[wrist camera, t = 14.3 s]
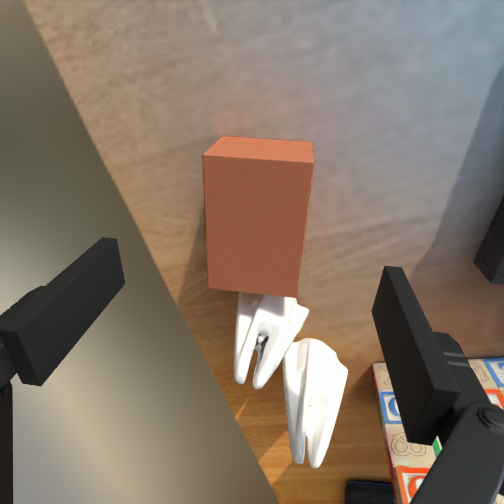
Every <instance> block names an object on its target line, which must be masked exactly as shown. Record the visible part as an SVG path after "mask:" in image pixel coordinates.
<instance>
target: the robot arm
mask: <svg viewBox="0 0 504 504" xmlns="http://www.w3.org/2000/svg"><path fill="white" fill-rule="evenodd" d="M124 284H125V279H124V274H123V269H122V264H121V259H120V254H119V249H118V244H117V239H113V238H104V237H102V238H101V239H100V240H99V241H97V242H96V243H95V244H94V245H93V246H92V247H90V248H89V249H88V250H87V251H86V252H85V253H83V254H82V255H81V256H80V257H79V258H78V259H76V260H75V261H74V262H73V263H72V264H71V265H70V266H68V267H67V268H66V269H65V270H63V271H62V272H61V273H60V274H59V275H58V276H57V277H55V278H54V279H53V280H52V281H51V282H49V283H48V284H47V285H46V286H40V287H38V288H36V289H34V290H32V291H30V292H28V293H27V294H26V295H25V296H23V297H22V298H21V299H20V300H19V301H18V302H16V303H15V304H14V305H12V306H11V307H10V309H8V310H6V311H5V312H4V313H3V314H1V315H0V504H13V409H12V408H13V407H12V406H13V402H12V385H11V382H10V380H11V379H12V378H13V376H14V375H15V374H16V373H17V374H18V376H19V378H20V380H21V382H22V383H23V384H29V385H36V386H42V385H43V383H44V382H45V381H46V380H47V379H48V377H49V376H50V375H51V374H52V372H53V371H54V370H55V369H56V368H57V366H58V365H59V364H60V363H61V361H62V360H63V359H64V358H65V357H66V355H67V354H68V353H69V352H70V350H71V349H72V348H73V347H74V346H75V344H76V343H77V342H78V340H79V339H80V338H81V337H82V335H83V334H84V333H85V332H86V331H87V330H88V328H89V327H90V326H91V325H92V323H93V322H94V321H95V320H96V319H97V317H98V316H99V315H100V314H101V312H102V311H103V310H104V309H105V308H106V306H107V305H108V304H109V303H110V301H111V300H112V299H113V298H114V296H115V295H116V294H117V293H118V291H119V290H120V289H121V288H122V287H123V285H124ZM372 315H373V319H374V322H375V326H376V330H377V333H378V337H379V341H380V344H381V348H382V352H383V355H384V359H385V363H386V366H387V370H388V374H389V377H390V381H391V385H392V388H393V392H394V395H395V399H396V403H397V406H398V410H399V414H400V417H401V421H402V425H403V428H404V432H405V436H406V439H407V442H408V443H415V444H421V445H428V446H432V444H433V443H434V441H435V439H436V437H437V436H438V438H439V441H440V444H441V447H442V449H441V451H440V453H439V454H438V456H437V458H436V459H435V461H434V463H433V464H432V466H431V468H430V469H429V471H428V473H427V474H426V476H425V478H424V480H423V481H422V483H421V485H420V486H419V488H418V490H417V491H416V493H415V495H414V496H413V498H412V500H411V501H410V503H409V504H494V502H495V499H496V497H497V494H499V495H502V496H504V410H503V409H501V408H500V407H498V406H496V405H494V404H492V403H491V401H490V399H489V398H488V396H487V394H486V392H485V390H484V389H483V387H482V385H481V383H480V381H479V380H478V378H477V376H476V374H475V372H474V371H473V369H472V368H471V367H470V363H469V362H468V360H467V358H465V354H464V353H463V351H462V349H461V347H460V345H459V344H458V343H457V342H456V341H455V340H454V339H453V338H452V337H451V336H450V335H449V334H447V333H439V332H433V331H432V329H431V327H430V325H429V323H428V321H427V319H426V317H425V315H424V313H423V311H422V308H421V306H420V304H419V302H418V300H417V298H416V296H415V294H414V292H413V290H412V288H411V286H410V284H409V281H408V279H407V277H406V275H405V273H404V271H403V269H402V268H401V267H391V266H385V267H384V270H383V274H382V277H381V280H380V284H379V287H378V291H377V294H376V298H375V301H374V305H373V308H372Z"/></svg>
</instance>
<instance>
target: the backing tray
mask: <svg viewBox="0 0 504 504" xmlns="http://www.w3.org/2000/svg"><path fill="white" fill-rule="evenodd" d="M474 264H475V265H476V266H477V267H478V268H479V270H480V271H481V272H482V273H483V274H484V276H485V277H486V278H487V279H488V280H489V282H490V283H495V284H504V197H503V199H502V201H501V203H500V206H499V208H498V210H497V212H496V214H495V217H494V219H493V221H492V223H491V225H490V228H489V230H488V232H487V234H486V236H485V239H484V241H483V243H482V245H481V247H480V250H479V252H478V254H477V256H476V258H475V261H474Z"/></svg>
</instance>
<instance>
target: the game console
mask: <svg viewBox="0 0 504 504" xmlns="http://www.w3.org/2000/svg"><path fill="white" fill-rule="evenodd" d="M345 504H396V501H395V494H394V490H393V485H392V484H382V483H371V482H359V481H352V482H349V483H348V484H347V485H346V487H345Z"/></svg>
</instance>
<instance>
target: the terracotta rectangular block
mask: <svg viewBox="0 0 504 504" xmlns="http://www.w3.org/2000/svg"><path fill="white" fill-rule="evenodd" d="M202 157H203V181H204V204H205V227H206V250H207V274H208V288H211V289H220V290H228V291H237V292H246V293H255V294H264V295H273V296H282V297H291V298H296V297H297V291H298V284H299V276H300V269H301V261H302V254H303V246H304V239H305V231H306V224H307V216H308V209H309V201H310V194H311V186H312V179H313V171H314V164H315V163H314V153H313V144H312V142H304V141H289V140H273V139H258V138H242V137H227V136H222V137H221V138H220V139H219V140H218V141H217V142H216V143H215V144H213V145H212V146H211V147H210V148H209V149H208V150H207V151H206V152H205V153H204V154H203V155H202Z"/></svg>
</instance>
